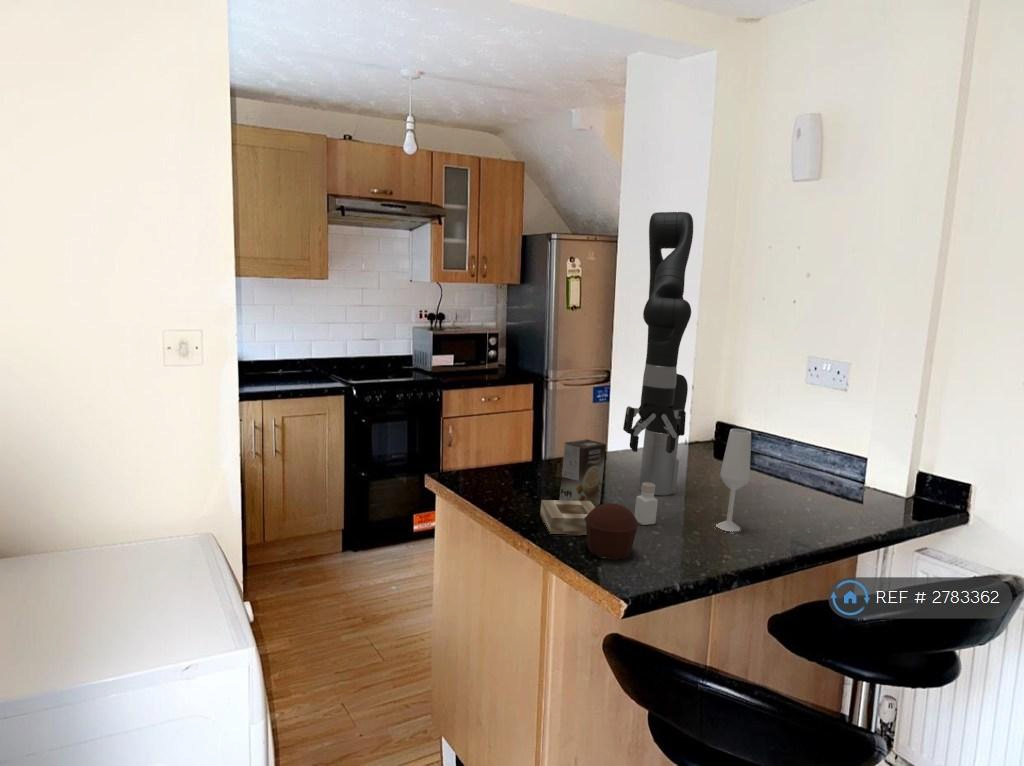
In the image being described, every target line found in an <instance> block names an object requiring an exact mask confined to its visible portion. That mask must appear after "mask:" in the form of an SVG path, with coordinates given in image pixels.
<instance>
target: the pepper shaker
mask: <svg viewBox="0 0 1024 766" xmlns="http://www.w3.org/2000/svg"><path fill="white" fill-rule="evenodd" d="M640 492H641V493H640V494H639V495H637V496H636V497H635V508H634V514H633V515H634V517H635V518H636V520H637V522H638V524H639V525H642V526H645V525H646V526H647V525H648V526H649V525H655V524H656V520H657V510H658V503H659V501H658V499H657V498H656V497H655V495H654V493H655V484H653V483H647V482H645V483H642V486H641V490H640Z"/></svg>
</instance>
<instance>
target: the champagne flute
mask: <svg viewBox="0 0 1024 766" xmlns="http://www.w3.org/2000/svg"><path fill="white" fill-rule="evenodd" d="M727 437H728V438H727V442H726V447H725V452H724V454H723V455H724V456H723V459H722V465H721V468H720V473H719V475H720V478H721V480H722V482H723V483H724V484H725V486H726V487H727V488H728V489H729V490H730V492H729V499H728V506H727V507H728V508H727V515H726V519H725V520H723V521H721V522H718V524H717V523H715V524H716V527H718V528H720V529H722V530H725V531H730V532H731V531H732V532H733V531H739V530H740V528H741V527H740V526H739V525H738V524H736V523H735V522H733V513H734V506H735V498H736V491H737V490H739V489H741V488H742V487H744V486H745V485H746V484H747V483H748V482H749V481H750V478H751V449H752V447H751V446H752V431H750V430H747V429H742V428H731V429H730V430H729V434H728V436H727Z"/></svg>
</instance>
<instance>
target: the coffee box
mask: <svg viewBox="0 0 1024 766" xmlns="http://www.w3.org/2000/svg"><path fill="white" fill-rule="evenodd" d="M606 450H607V444H606V443H603V442H600V441H597V440H591V439H588V438H587V439H581V440H573V441H567V442H564V451H563V461H562V469H561V470H562V471H561V481H560V489H559V499H558V500H565V501H591V503H592V504H593V505H594V506H595V507H597V506H599V505H601V496H602V487H603V477H604V468H605V461H606V459H605V458H606Z"/></svg>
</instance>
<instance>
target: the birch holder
mask: <svg viewBox="0 0 1024 766" xmlns="http://www.w3.org/2000/svg"><path fill="white" fill-rule="evenodd" d="M540 502H541V503H540V513H539V516H541V517H540V518H542V519H541V520H542V523H543V524H544V523H545V524H544V526H545V525H546V526H545V528H546V527H547V528H546V529H548V530H547V532H548V531H549V532H550V533H549V532H548V533H549V535H550V534H567V535H566V536H581V535H587V529H586V522H585V520H584V518H585V517H586V516H587V515H588V514H589V513H590V512H591V511H592V510H593V509H594V508H595V507H596V506H594V505H593V504H592V503H591V501H565V500H559V499H558V500H555V499H553V500H552V499H541V501H540Z"/></svg>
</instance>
